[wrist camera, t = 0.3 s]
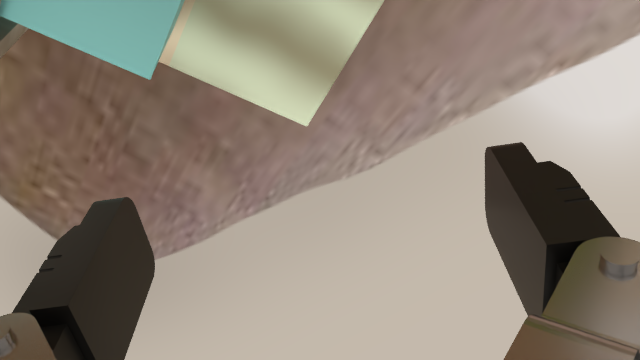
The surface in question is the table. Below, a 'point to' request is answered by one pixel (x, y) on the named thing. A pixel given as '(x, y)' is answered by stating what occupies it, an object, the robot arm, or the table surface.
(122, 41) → the teal block
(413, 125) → the table surface
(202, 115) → the table surface
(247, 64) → the tunnel track
